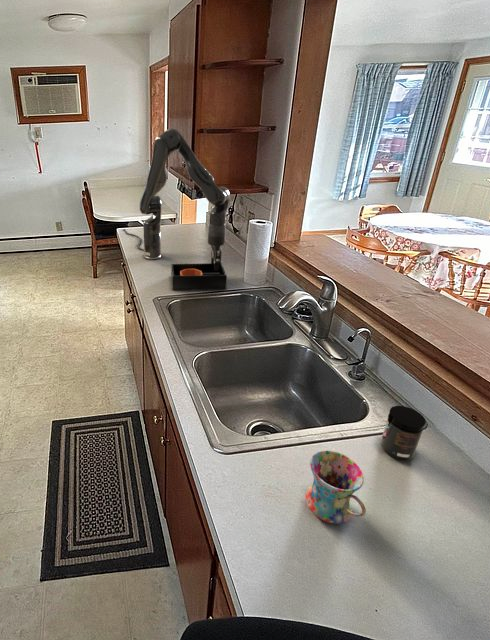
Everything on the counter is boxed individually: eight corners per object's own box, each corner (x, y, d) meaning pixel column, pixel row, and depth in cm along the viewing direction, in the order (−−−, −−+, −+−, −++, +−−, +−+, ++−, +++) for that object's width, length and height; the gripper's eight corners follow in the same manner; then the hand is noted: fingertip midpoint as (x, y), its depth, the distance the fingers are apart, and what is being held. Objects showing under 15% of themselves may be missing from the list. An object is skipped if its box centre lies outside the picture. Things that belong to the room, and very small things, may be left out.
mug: (293, 493, 83) (299, 457, 78) (329, 480, 85) (337, 445, 81) (335, 549, 72) (346, 511, 68) (375, 533, 75) (388, 495, 70)
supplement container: (404, 439, 94) (415, 406, 90) (419, 463, 88) (432, 428, 84) (374, 438, 95) (384, 404, 91) (387, 461, 89) (398, 426, 85)
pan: (180, 286, 176) (180, 277, 175) (179, 277, 186) (179, 268, 184) (221, 285, 175) (221, 276, 173) (217, 276, 184) (218, 268, 182)
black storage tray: (171, 276, 188) (171, 263, 186) (220, 276, 187) (221, 263, 184) (172, 290, 175) (172, 276, 172) (225, 289, 173) (226, 275, 170)
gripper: (228, 238, 164) (225, 273, 171) (222, 228, 177) (220, 261, 184) (210, 238, 164) (208, 273, 171) (206, 228, 177) (204, 261, 184)
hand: (214, 267), depth 178 cm, fingers open, 8 cm apart
